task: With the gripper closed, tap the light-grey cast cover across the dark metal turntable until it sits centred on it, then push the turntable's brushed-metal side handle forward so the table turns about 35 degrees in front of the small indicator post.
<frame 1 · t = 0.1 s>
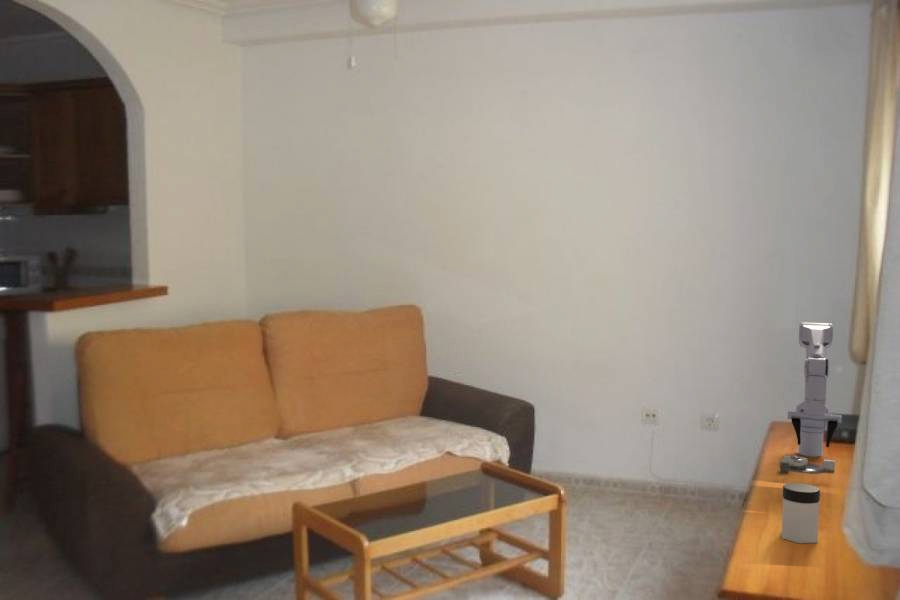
hand: (813, 445, 265), 10 cm above the tv stand, tool pointing down, fingers open, 7 cm apart
cover: (794, 466, 275), point 1 cm above the tv stand, touching turntable
indicator post: (784, 476, 268), on the tv stand
turntable: (808, 464, 274), point 2 cm above the tv stand, hinge at 0.0°, touching cover
jar: (799, 538, 214), on the tv stand
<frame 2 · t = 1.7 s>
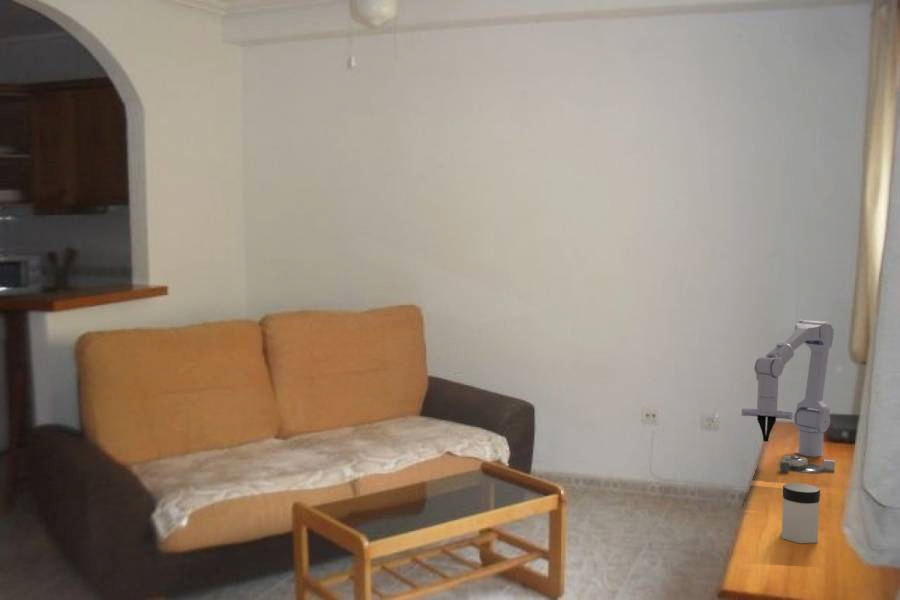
hand: (765, 440, 277), 9 cm above the tv stand, tool pointing down, fingers closed
nothing on the tv stand moved.
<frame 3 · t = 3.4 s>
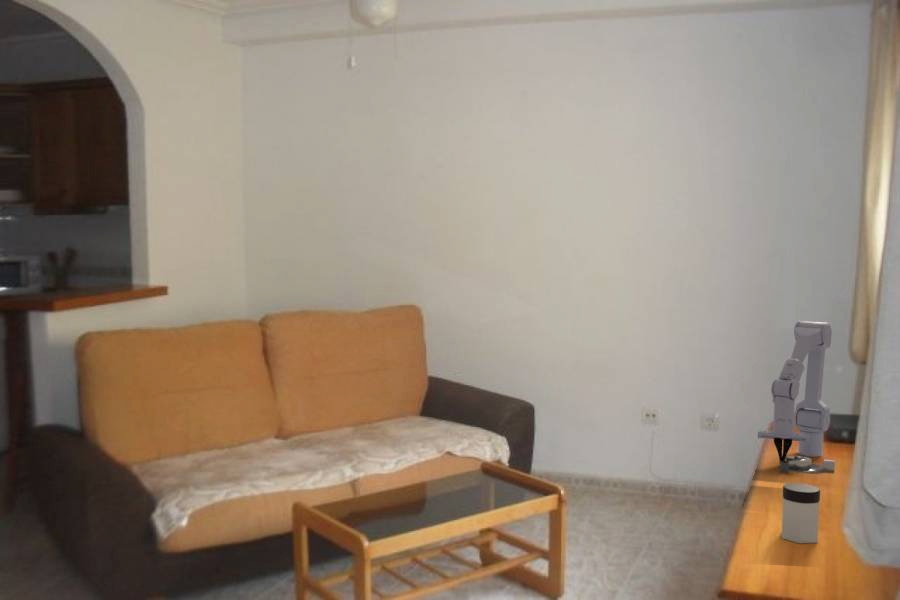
hand: (782, 463, 276), 2 cm above the tv stand, tool pointing down, fingers closed
cover: (798, 467, 274), point 1 cm above the tv stand, touching gripper
turntable: (808, 464, 274), point 2 cm above the tv stand, hinge at 0.0°
everything else where it was.
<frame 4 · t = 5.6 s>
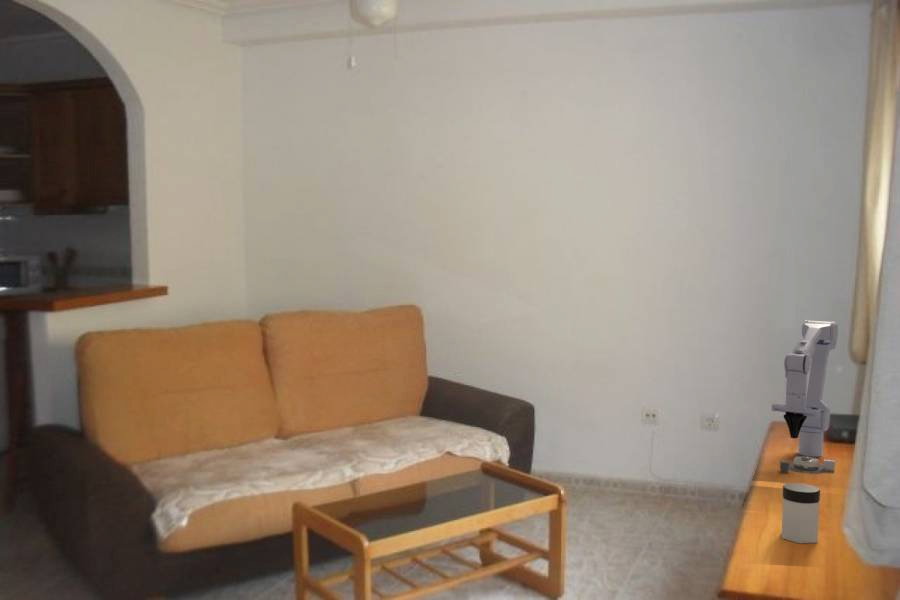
hand: (794, 437, 276), 10 cm above the tv stand, tool pointing down, fingers closed
cover: (806, 467, 274), point 1 cm above the tv stand, touching turntable
turntable: (808, 464, 274), point 2 cm above the tv stand, hinge at 0.0°, touching cover
everything else where it was.
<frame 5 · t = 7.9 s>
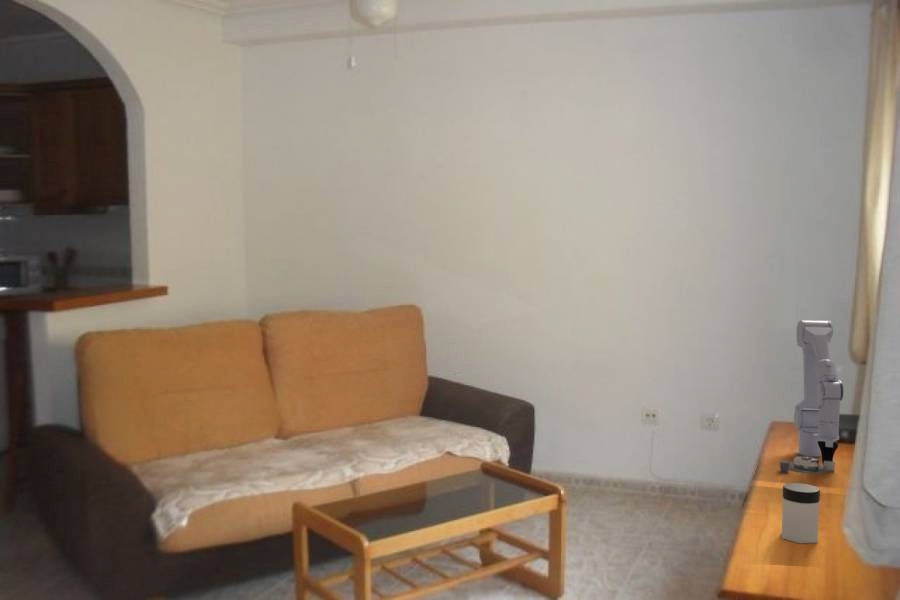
hand: (826, 465, 274), 2 cm above the tv stand, tool pointing down, fingers closed, pressing on turntable
turntable: (808, 464, 274), point 2 cm above the tv stand, hinge at 0.0°, touching cover, gripper
everything else where it was.
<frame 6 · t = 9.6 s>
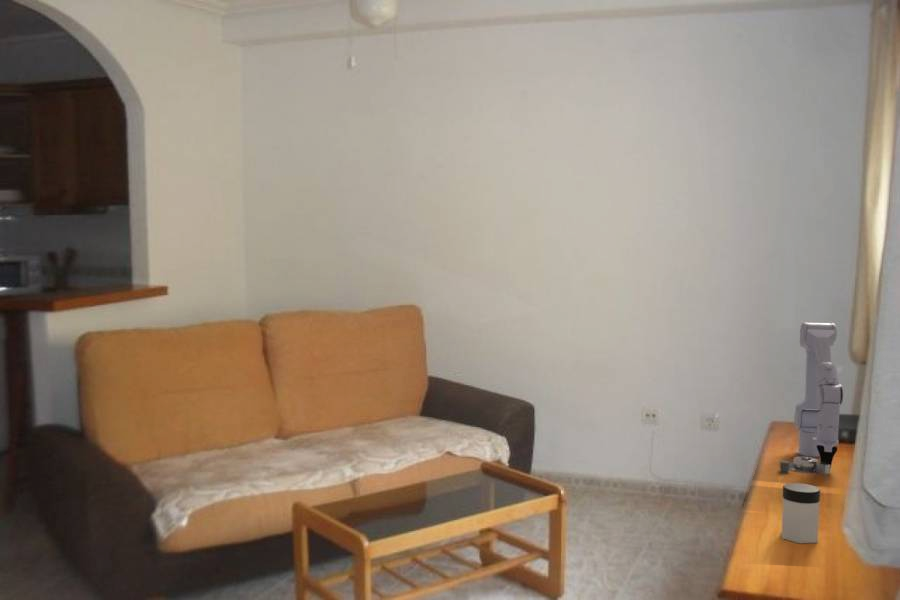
hand: (825, 470, 270), 2 cm above the tv stand, tool pointing down, fingers closed, pressing on turntable
turntable: (807, 465, 273), point 2 cm above the tv stand, hinge at -42.7°, touching cover, gripper
everything else where it was.
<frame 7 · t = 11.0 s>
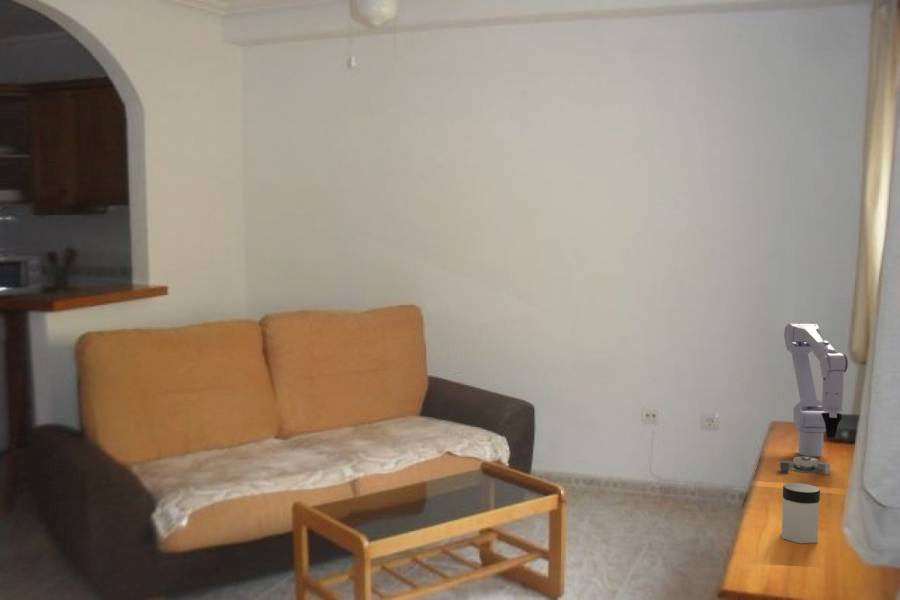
hand: (830, 437, 277), 10 cm above the tv stand, tool pointing down, fingers closed
turntable: (807, 465, 273), point 2 cm above the tv stand, hinge at -42.8°, touching cover
everything else where it was.
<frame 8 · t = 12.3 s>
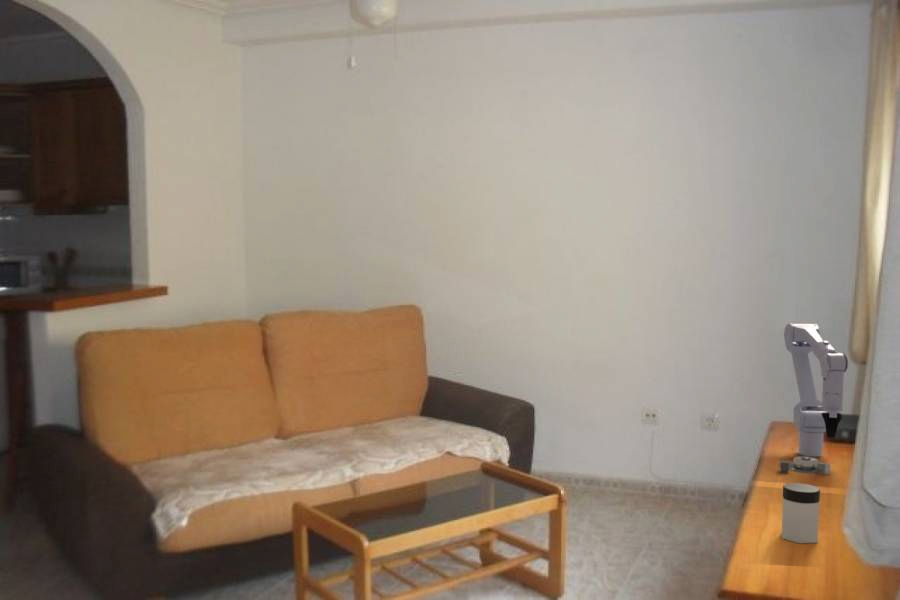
hand: (830, 437, 277), 10 cm above the tv stand, tool pointing down, fingers closed
nothing on the tv stand moved.
at the end: cover 0.2 cm from the turntable (horizontally); turntable at -43° (first picture: +0°); cover tilted 0° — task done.
